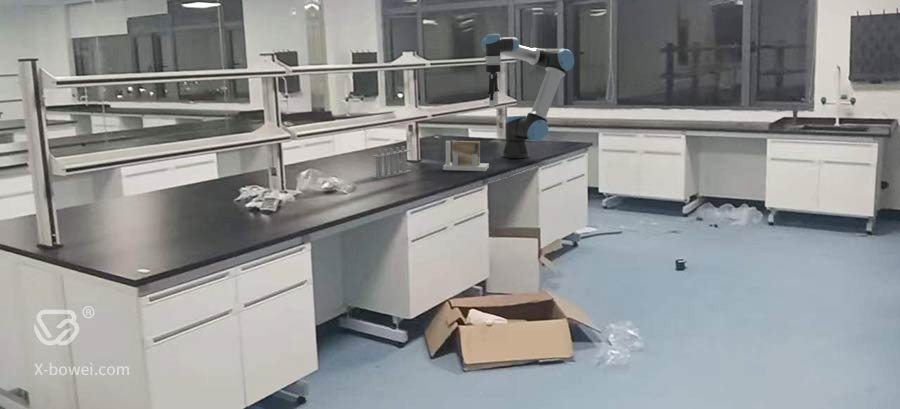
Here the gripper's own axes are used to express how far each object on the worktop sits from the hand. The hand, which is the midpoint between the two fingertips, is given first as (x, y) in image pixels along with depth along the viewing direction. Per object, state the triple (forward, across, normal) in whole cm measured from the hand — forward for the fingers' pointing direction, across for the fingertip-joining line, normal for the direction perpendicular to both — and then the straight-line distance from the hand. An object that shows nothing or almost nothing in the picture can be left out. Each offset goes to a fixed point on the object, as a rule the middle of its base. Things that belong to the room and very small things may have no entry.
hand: (493, 105), depth 398 cm
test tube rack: (+30, +41, -46) cm, 68 cm away
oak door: (+29, +17, -12) cm, 35 cm away
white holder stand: (+31, +17, -12) cm, 37 cm away
